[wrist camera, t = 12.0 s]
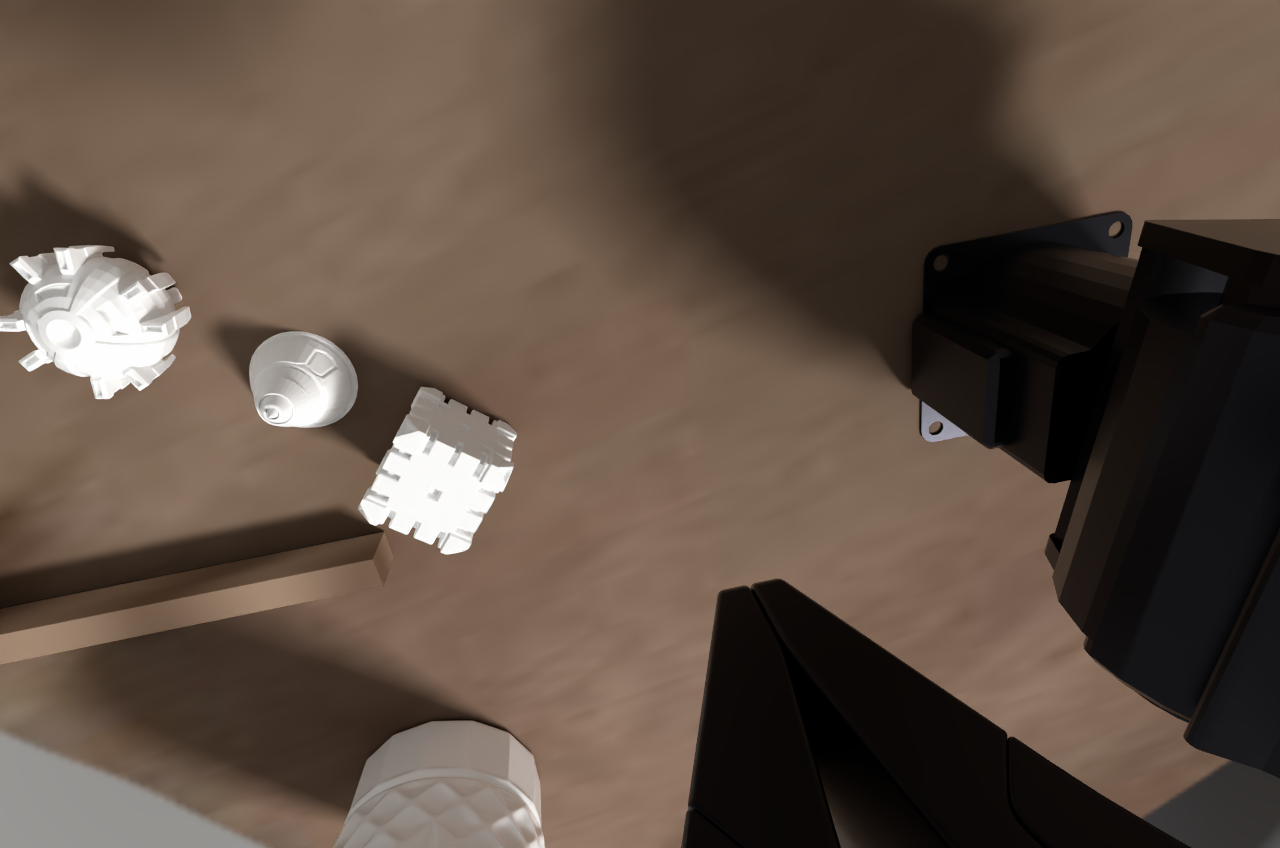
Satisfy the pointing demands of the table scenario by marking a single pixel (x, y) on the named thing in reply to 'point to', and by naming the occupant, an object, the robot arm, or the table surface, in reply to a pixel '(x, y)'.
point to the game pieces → (263, 386)
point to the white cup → (447, 791)
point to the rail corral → (193, 597)
